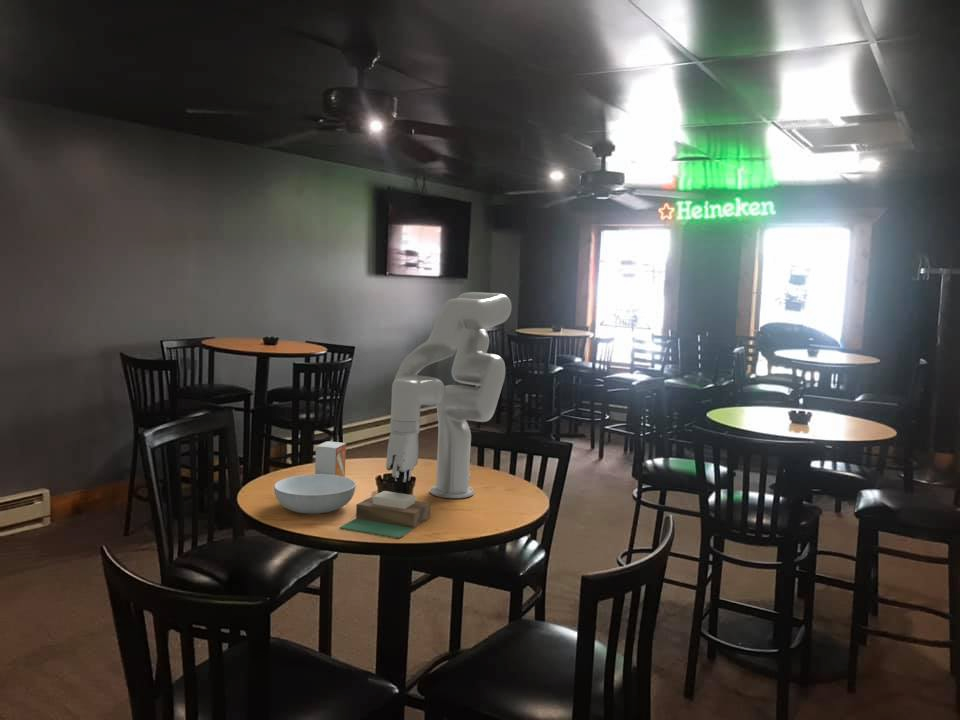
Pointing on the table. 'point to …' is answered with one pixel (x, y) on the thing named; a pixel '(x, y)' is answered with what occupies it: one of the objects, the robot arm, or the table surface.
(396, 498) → the light grey flat block
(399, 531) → the mat
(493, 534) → the table surface
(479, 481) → the table surface
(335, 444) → the small box
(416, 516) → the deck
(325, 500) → the serving bowl
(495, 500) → the table surface
